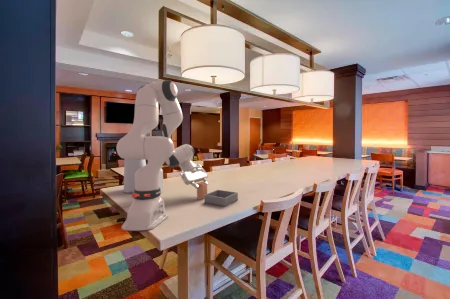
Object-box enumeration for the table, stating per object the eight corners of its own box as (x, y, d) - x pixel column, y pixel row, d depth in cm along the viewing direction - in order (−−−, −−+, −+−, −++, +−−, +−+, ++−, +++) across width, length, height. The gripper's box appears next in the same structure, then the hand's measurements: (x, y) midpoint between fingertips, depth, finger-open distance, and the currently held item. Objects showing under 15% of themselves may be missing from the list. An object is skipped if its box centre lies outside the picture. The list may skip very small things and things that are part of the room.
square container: (197, 198, 142) (196, 183, 142) (201, 196, 146) (201, 181, 146) (202, 199, 140) (202, 184, 139) (207, 197, 144) (207, 182, 143)
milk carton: (148, 192, 157) (147, 165, 156) (155, 190, 164) (154, 163, 163) (156, 193, 154) (155, 165, 153) (163, 191, 161) (162, 164, 160)
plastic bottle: (149, 187, 173) (148, 150, 171) (145, 192, 158) (143, 152, 156) (128, 188, 171) (126, 150, 169) (122, 193, 156) (120, 152, 154)
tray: (225, 206, 126) (225, 198, 126) (204, 202, 134) (204, 194, 133) (237, 200, 138) (237, 192, 138) (217, 196, 146) (217, 189, 145)
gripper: (181, 168, 137) (194, 186, 132) (202, 164, 154) (214, 180, 150) (175, 175, 140) (188, 193, 135) (197, 170, 157) (209, 186, 152)
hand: (202, 186), depth 143 cm, fingers open, 8 cm apart
